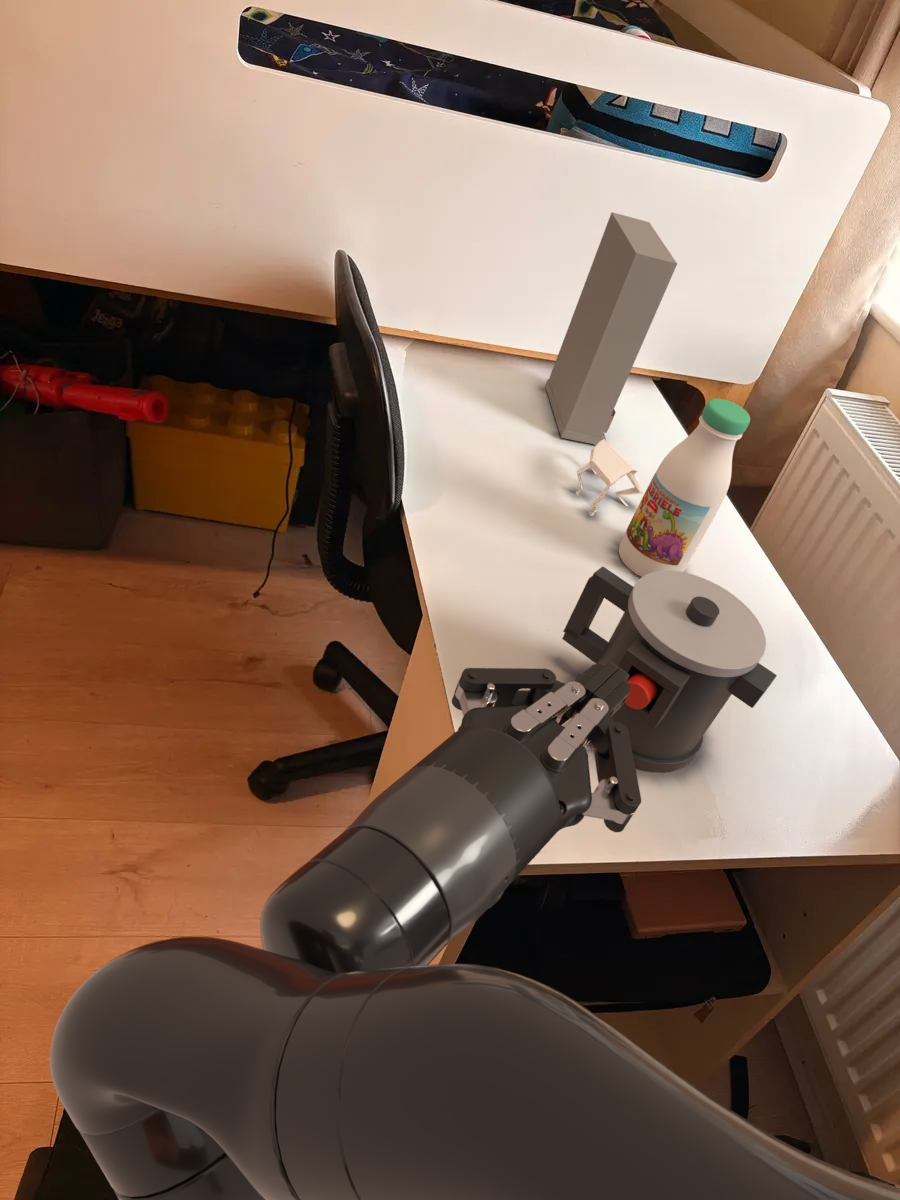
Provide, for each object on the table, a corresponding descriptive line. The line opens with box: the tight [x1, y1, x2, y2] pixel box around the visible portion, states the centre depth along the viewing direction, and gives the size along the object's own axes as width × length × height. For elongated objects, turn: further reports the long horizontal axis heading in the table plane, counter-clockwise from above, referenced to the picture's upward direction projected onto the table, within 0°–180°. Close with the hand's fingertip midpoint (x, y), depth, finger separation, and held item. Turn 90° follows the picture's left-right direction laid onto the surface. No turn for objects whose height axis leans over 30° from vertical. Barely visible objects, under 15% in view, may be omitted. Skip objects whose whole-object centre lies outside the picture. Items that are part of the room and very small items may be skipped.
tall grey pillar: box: [544, 211, 678, 446], centre depth 115 cm, size 14×6×25 cm, turn 4°
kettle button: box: [624, 674, 657, 709], centre depth 71 cm, size 2×2×2 cm
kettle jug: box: [561, 566, 777, 773], centre depth 77 cm, size 13×17×14 cm
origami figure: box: [575, 439, 644, 517], centre depth 109 cm, size 12×8×5 cm
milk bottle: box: [618, 398, 751, 578], centre depth 95 cm, size 8×8×20 cm
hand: (615, 677), depth 57 cm, fingers closed
